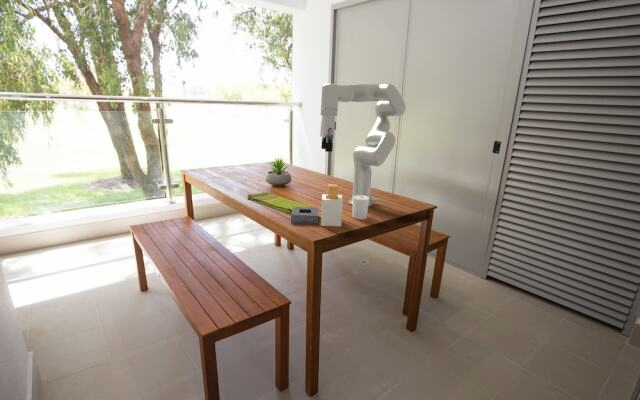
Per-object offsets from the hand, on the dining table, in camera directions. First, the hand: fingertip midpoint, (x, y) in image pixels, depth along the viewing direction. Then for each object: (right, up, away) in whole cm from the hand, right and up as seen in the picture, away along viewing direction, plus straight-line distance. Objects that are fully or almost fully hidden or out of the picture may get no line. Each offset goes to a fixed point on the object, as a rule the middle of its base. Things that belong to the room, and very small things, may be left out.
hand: (326, 150), depth 153 cm
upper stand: (+2, -34, -4) cm, 34 cm away
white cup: (+16, -32, +5) cm, 36 cm away
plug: (+2, -26, -7) cm, 26 cm away
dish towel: (-25, -26, +22) cm, 42 cm away
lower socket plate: (-10, -32, -1) cm, 34 cm away
